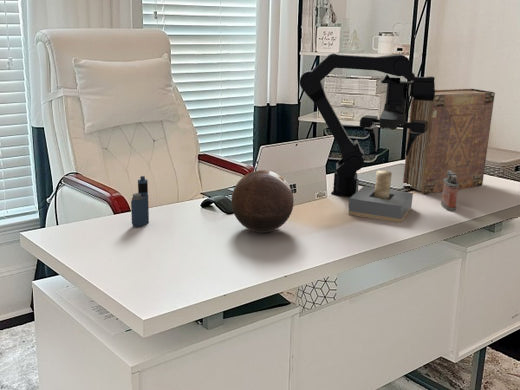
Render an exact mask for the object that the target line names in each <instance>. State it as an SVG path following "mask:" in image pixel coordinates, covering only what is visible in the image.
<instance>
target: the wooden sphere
mask: <svg viewBox="0 0 520 390" xmlns="http://www.w3.org/2000/svg"><path fill="white" fill-rule="evenodd" d="M294 202H295V201H294V193H293V191H292V188H291V186H290V184H289V183H288V182H287V180H286V179H285V178H284V177H282V176H281V175H280V174H278V173H276V172H273V171H270V170H265V169H264V170H263V169H261V170H260V169H259V170H254V171H251V172H249V173H247V174H245V175H244V176H243V177H241V178H240V179H239V180H238V182H237V183H236V184H235V187H234V188H233V191H232V195H231V209H232V212H233V214H234V216H235V219H236V220H237V221H238V222H239V223H240V224H241V226H243V227H245V228H246V229H248V230H250V231H252V232H255V233H268V232H273V231H275V230H278V229H279V228H281V227H282V226H283V225H284V224H286V222H287V221H288V219H289V218H290V217H291V215H292V212H293V208H294Z"/></svg>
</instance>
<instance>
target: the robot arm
mask: <svg viewBox="0 0 520 390" xmlns="http://www.w3.org/2000/svg"><path fill="white" fill-rule="evenodd" d="M334 69H347V70H363V71H375V72H376V71H377V72H381V73H384V74H385V75H384V76H383V78H381V79H380V83H381V84H386V92H385V103H384V106H383V107H384V108H383V109H382V110H383V111H382V112H381V114H380V115H379V116H378V115H369V114H368V115H363V116H362V117H361V118H360V119H359V127H361V128H363V130H364V131H366V132H367V133H368V134H369V138H370V139H371V143H372V147H373V148H372V149H373V151H374V152H377V151H378V146H379V145H378V143H379V142H378V141H379V128H380V129H383V130H384V129H387V130H388V129H390V130H397V129H398V128H399V129H400V128H401V129H407V130H409V129H411V132H410V133H409V139H408V138H407V140H408V144H407V143H406V150H405V156H406V155H408V153H409V151H410V149H411V147H412V145H413V143H414V141H415V139H416V137H417V136H419V135H421V134H422V133H425V132H426V131H428V122H427V121H423V120H414V121H412V122H409V121H407V114H406V107H407V94H408V97H410V98H411V101H412V100H417V101H433V100H434V96H435V90H436V89H435V88H436V85H435V83H436V82H435V76H415V75H416V74H415V73H414V72H413V71H412V70H411V62H410V59H409V58H408V57H407V56H405V55H404V54H401V53H398V54H396V53H394V54H387V55H381V56H379V55H378V56H371V55H370V56H367V55H349V54H337V53H335V52H333V53H330V54H328V55H327V56H326V58H324V59H323V60H322V61H321V62H320V63H319V64H317V65H315V67H313V69H308V70H305V71H304V72H302V75H301V76H300V78H299V86H300V89H301V90H303V92H304V93H305V94H306V95H307V97H308V98H309V99H310V100H311V101H312V102H313V103H314V105H315V106H316V108H317V110H318V111H319V113H320V115H321V117H322V118H323V120H324V122H325V124H326V126H327V127H328V130H329V131H330V133H331V135H332V136H333V138H334V140H335V141H336V143H337V146H338V149H339V152H340V156H341V159H339V160H338V161H337V162H336V171H335V172H334V174H333V189H332V191H331V192H330V194H331V195H336V196H344V197H349V198H350V197H352V196H353V195H354V194H355V193H356V192H357V191H359V180H360V179H359V178H358V173H357V172H358V171H359V170H361V169H362V168H363V167H364V164H365V159H364V157H365V151H364V149H362V148H361V145H360V144H359V141H358V139H355V140H354V141H353V140H352V139H351V138H350V137H349V135H348V133H347V132H346V130H345V127H344V126H343V124H342V123H341V121H340V118H339V117H338V115H337V113H336V112H335V110H334V108H333V106H332V104H331V103H330V101H329V99H328V97H327V95H326V91H325V88H324V85H323V82H322V80H324V79H325V78H326V77H327V76H328V75H329V74H330V73H331V72H332V71H334ZM389 75H391V76H392V77H391V76H389ZM393 76H395V77H393ZM401 77H403V78H404V79H406V80H405V81H404V80H401ZM408 85H409V86H408ZM378 117H379V118H378Z"/></svg>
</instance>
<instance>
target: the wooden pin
mask: <svg viewBox="0 0 520 390" xmlns="http://www.w3.org/2000/svg"><path fill="white" fill-rule="evenodd" d="M391 182H392V172H391V171H389V170H376V174H375V186H374V188H375V194H374V198H381V199H387V200H389V194H390V190H391Z"/></svg>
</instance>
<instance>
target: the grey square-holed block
mask: <svg viewBox="0 0 520 390" xmlns="http://www.w3.org/2000/svg"><path fill="white" fill-rule="evenodd" d="M374 194H375V186H374V187H373V186H367V185H363V186H362V187H361V188H360V189H358V191H357V192H356V193H355V194H354V195H353V196H352V197H349V198H348V199H349V200H348V213H347V214H348V215H350V216H357V217H363V218H369V219H375V220H382V221H386V222H393V223H398V224H399V223H402V221H403V220H404V219H405V217H406V216H407V214H409V212H410V211H411V210H412V208H413V207H412V206H413V205H412V204H413V197H414V196H413V195H414V193H413V192H407V191H401V190H394V189H390V194H389V200H387V199H381V198H374Z"/></svg>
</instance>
